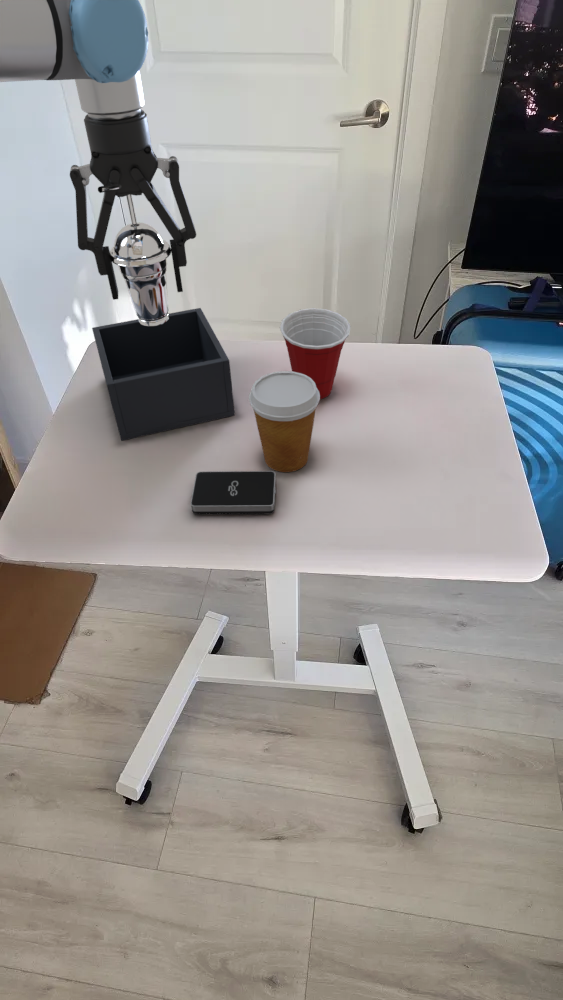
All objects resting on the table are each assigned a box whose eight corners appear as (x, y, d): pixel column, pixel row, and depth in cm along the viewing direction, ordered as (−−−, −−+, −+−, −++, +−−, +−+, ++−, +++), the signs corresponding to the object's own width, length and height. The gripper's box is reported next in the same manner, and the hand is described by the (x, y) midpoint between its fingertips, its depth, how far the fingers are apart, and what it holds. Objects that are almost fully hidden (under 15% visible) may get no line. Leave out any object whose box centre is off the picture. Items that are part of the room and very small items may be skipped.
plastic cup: (299, 417, 98) (298, 349, 90) (271, 383, 105) (268, 317, 97) (359, 399, 101) (364, 331, 93) (329, 367, 108) (330, 302, 100)
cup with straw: (192, 319, 93) (170, 174, 79) (138, 340, 89) (105, 191, 75) (164, 300, 98) (138, 160, 84) (112, 319, 94) (76, 175, 81)
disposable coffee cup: (331, 450, 92) (333, 380, 83) (297, 488, 86) (295, 417, 78) (276, 431, 96) (273, 362, 87) (240, 466, 90) (233, 396, 82)
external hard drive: (198, 482, 88) (196, 471, 86) (277, 481, 87) (276, 470, 86) (191, 517, 82) (189, 506, 81) (275, 516, 82) (274, 505, 81)
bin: (121, 441, 95) (106, 384, 88) (105, 380, 108) (91, 327, 101) (235, 415, 99) (229, 359, 92) (207, 360, 111) (200, 307, 105)
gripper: (199, 98, 79) (217, 273, 95) (26, 111, 77) (74, 288, 92) (205, 111, 74) (223, 294, 89) (19, 126, 71) (71, 311, 87)
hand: (147, 291), depth 91 cm, fingers closed on cup with straw, 8 cm apart
